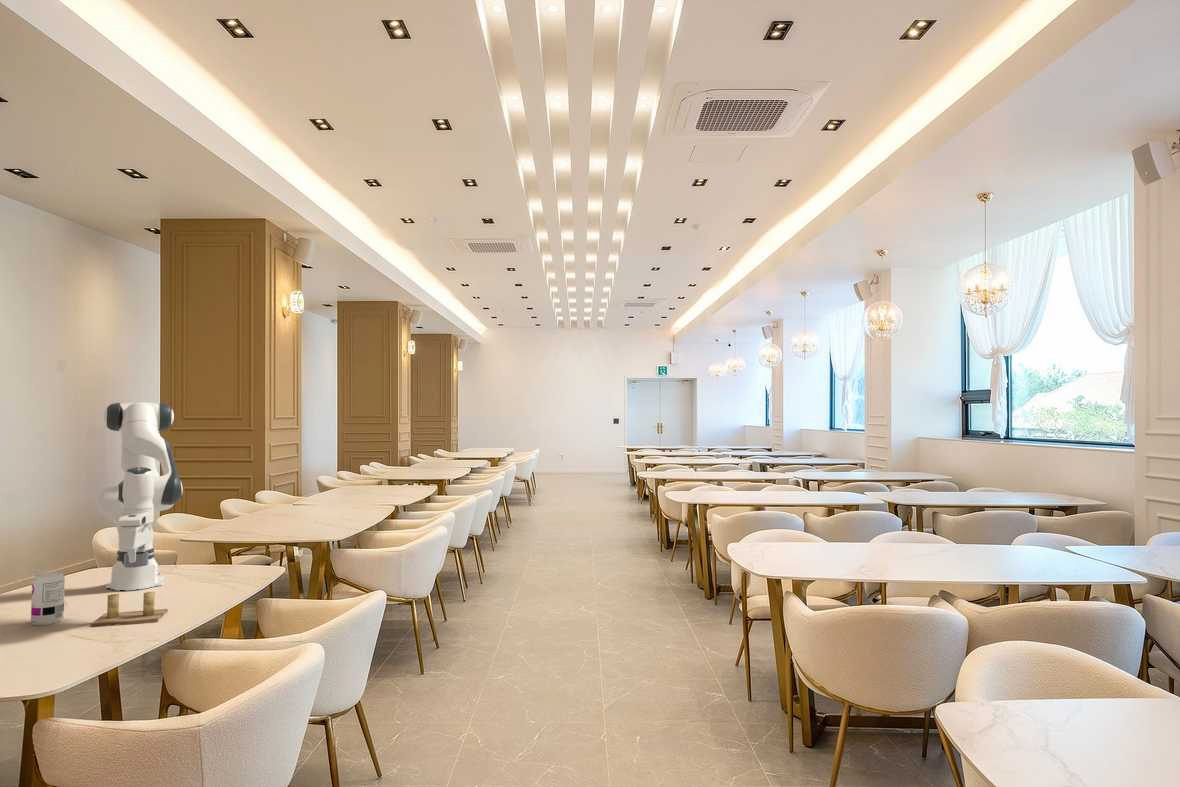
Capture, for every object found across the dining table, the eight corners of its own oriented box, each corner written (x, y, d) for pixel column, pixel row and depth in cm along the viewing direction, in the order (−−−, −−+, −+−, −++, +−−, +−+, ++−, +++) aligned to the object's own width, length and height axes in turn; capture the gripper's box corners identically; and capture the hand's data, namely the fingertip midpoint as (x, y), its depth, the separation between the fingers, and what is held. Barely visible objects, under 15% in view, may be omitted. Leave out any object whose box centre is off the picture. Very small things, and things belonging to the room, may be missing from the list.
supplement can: (25, 626, 217) (27, 577, 217) (38, 619, 225) (40, 572, 225) (56, 624, 219) (57, 576, 220) (68, 617, 227) (69, 570, 227)
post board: (104, 616, 228) (105, 591, 229) (167, 611, 234) (168, 587, 234) (91, 626, 217) (91, 600, 217) (157, 621, 223) (158, 596, 223)
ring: (128, 564, 231) (128, 552, 231) (150, 563, 233) (150, 551, 233) (121, 568, 225) (121, 555, 225) (144, 566, 226) (144, 554, 227)
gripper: (136, 514, 238) (135, 555, 238) (116, 521, 219) (114, 566, 218) (158, 513, 240) (156, 554, 239) (139, 520, 221) (137, 565, 220)
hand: (136, 560), depth 229 cm, fingers closed on ring, 6 cm apart
